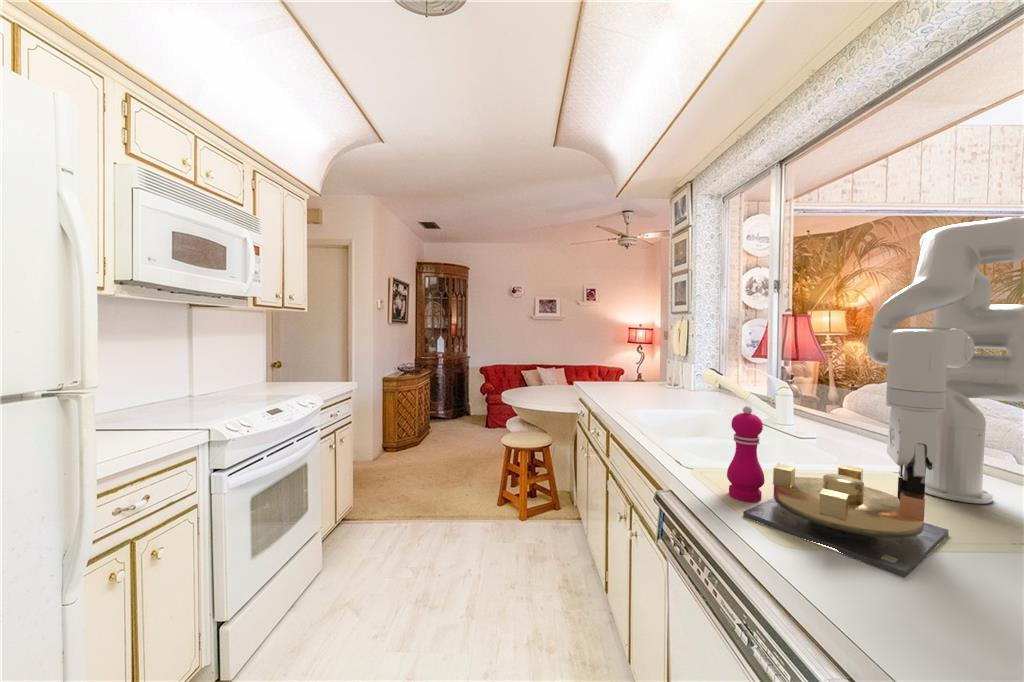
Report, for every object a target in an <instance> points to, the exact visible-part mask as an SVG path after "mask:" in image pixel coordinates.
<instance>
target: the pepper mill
mask: <svg viewBox="0 0 1024 682" xmlns="http://www.w3.org/2000/svg"><path fill="white" fill-rule="evenodd" d="M752 412H753V409H752V407H751V406H748V405H745V406H744V407H743V408H742V412H741V413H738V414H735V415H734V416H733V418H732V419H731V429H732V430H733V431H734V433H733V441H734V442H735V452H734V455H733V458H732V460H731V462H730V463H729V465H728V468H727V472H726V478H727V480H728V481H729V483H731V484H730V485H728V495H729V497H731V498H733V499H735V500H737V501H741V502H745V503H746V502H747V503H758V502H760V501H762V495H763V493H762V490H761V488H762V487H763V486H764V485H765V474H764V471H763V469H762V466H761V464H760V461H759V458H758V452H757V451H758V445H760V444H761V443H760V439H761V438H760V436H759V435H761V433H762V432H763V429H764V426H763V424H764V423H763V421H762V419H761V418H760V417H759V416H758V415H755V414H754V413H752Z"/></svg>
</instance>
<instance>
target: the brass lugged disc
mask: <svg viewBox="0 0 1024 682" xmlns="http://www.w3.org/2000/svg"><path fill="white" fill-rule="evenodd" d="M837 470H838V471H837V473H836V474H832V473H829V474H824V475H823V476H822V477H823V478H821V477H810V476H809V477H808V476H805V477H804V476H799V477H798V476H796V467H795V466H792V465H786V464H781V463H777V464H776V465H775V466H774V467H773V476H772V485H773V496H772V497H773V498H774V499H775V501H776V502H777V503H778V504H779V505H780V506H781V507H783V508H784V509H786V510H787V511H789V512H791V513H793V514H795V515H797V516H799V517H801V518H803V519H806V520H809V521H811V522H814V523H817V524H820V525H823V526H826V527H829V528H833V529H837V530H841V531H845V532H849V533H854V534H860V535H865V536H873V537H882V538H908V537H913V536H917V535H919V534H921V533H922V532H923V529H924V523H925V513H926V510H925V509H926V508H925V507H926V493H925V494H922V493H919V494H918V493H912V492H907V491H906V490H901V494H900V500H899V499H898V497H897V496H895V495H893V494H890V493H887V492H885V491H881V490H879V489H875V488H873V487H869V486H866V485H865V483H864V482H863V481H864V480H863V477H864V468H862V467H858V466H852V465H848V464H842V463H841V464H840V465H839V466H838V468H837Z"/></svg>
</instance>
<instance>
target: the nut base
mask: <svg viewBox="0 0 1024 682" xmlns="http://www.w3.org/2000/svg"><path fill="white" fill-rule="evenodd" d="M742 513H743V517H744V518H746V519H749V520H751V519H752V520H751V521H754V520H755V521H754V522H757V521H758V522H757V523H759V522H760V523H759V524H762V523H763V524H762V525H764V526H767V525H768V526H767V527H770V528H772V527H773V529H775V530H778V531H780V530H781V531H780V532H783V531H784V533H785V534H788V533H789V534H788V535H790V536H793V535H794V536H793V537H796V536H797V537H796V538H799V537H800V538H799V539H801V538H803V539H802V540H804V539H806V540H805V541H807V540H809V541H813V542H816V543H820V544H823V545H826V546H829V547H832V548H835V549H837V550H838V551H839V552H841V553H843V554H845V555H844V556H846V555H848V556H847V557H849V556H850V557H849V558H851V557H853V558H852V559H854V558H855V559H854V560H856V559H857V560H856V561H859V560H860V561H859V562H862V563H865V564H867V565H870V566H873V567H874V568H878V569H880V570H882V571H885V572H889V573H891V574H893V575H896V576H899V577H901V578H904V579H905V578H907V577H908V576H909V575H910V574H911V573H912V572H913V571H914V570H916V568H917V567H918V566H919V565H920V564H921V563H922V562H923V561H925V559H926V558H927V557H928V556H929V555H930V554H931V553H932V552H933V551H934V550H935V549H936V548H937V547H938V546H939V545H940V544H941V543H942V542H943V541H944V540H945V539H946V538H947V537H948V536H949V529H947V528H945V527H944V528H943V527H940V526H938V525H933V524H930V523H926V522H924V529H923V532H922V533H921V534H919V535H917V536H913V537H908V538H882V537H873V536H865V535H860V534H854V533H849V532H845V531H841V530H837V529H833V528H829V527H826V526H823V525H820V524H817V523H814V522H811V521H809V520H806V519H803V518H801V517H799V516H797V515H795V514H793V513H791V512H789V511H787V510H786V509H784V508H783V507H781V506H780V505H779V504H778V503H777V502H776V501H775V499H774V497H773V498H771V499H768V500H766V501H764V502H762V503H759V504H757V505H754V506H753V507H750V508H748V509H746V510H744V511H743V512H742ZM944 538H945V539H944ZM943 539H944V540H943ZM942 540H943V541H942ZM809 541H808V542H809ZM941 541H942V542H941ZM940 542H941V543H940ZM939 543H940V544H939ZM938 544H939V545H938ZM937 545H938V546H937ZM936 546H937V547H936ZM935 547H936V548H935ZM934 548H935V549H934ZM933 549H934V550H933ZM932 550H933V551H932ZM931 551H932V552H931ZM930 552H931V553H930ZM841 553H840V554H841ZM929 553H930V554H929ZM843 554H842V555H843ZM928 554H929V555H928ZM927 555H928V556H927Z"/></svg>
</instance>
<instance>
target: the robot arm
mask: <svg viewBox="0 0 1024 682" xmlns="http://www.w3.org/2000/svg"><path fill="white" fill-rule="evenodd" d="M919 250H920V255H919V259H918V263H917V266H916V270H915V274H914V278H913V282H912V284H910V285H909V286H907V287H905V288H903V289H901V290H900V291H898V292H896V294H894V295H892V296H891V297H890V298H888V300H887V301H885V302H884V303H883V304H882V305H881V306H880V307H879V308H878V309H877V311H876V313H875V315H874V316H873V319H872V323H871V327H870V330H869V333H868V338H867V342H866V343H867V344H866V351H867V354H868V357H869V358H870V359H871V361H872V362H874V363H877V364H879V365H882V366H883V365H884V366H887V371H886V372H887V375H886V377H887V378H886V392H885V394H886V395H885V396H886V397H885V399H886V400H885V405H886V406H887V407H891V408H890V414H889V421H888V422H889V423H888V431H887V432H888V433H887V444H886V453H887V455H888V456H889V458H891V460H892V461H893V462H894V463H895V464H896V465H897V466H898V475H899V476H897V477H898V478H897V496H896V497H898V499H899V500H900V494H901V490H906V491H907V492H912V493H918V494H919V493H922V494H925V495H926V494H928V495H930V496H934V497H937V498H941V499H945V500H950V501H951V500H952V501H956V502H959V503H967V504H979V505H980V504H989V503H992V502H993V494H992V493H990V492H988V491H987V490H984V489H983V484H984V483H983V479H984V459H985V445H986V444H985V443H986V425H987V424H986V423H987V421H986V417H985V415H984V414H983V413H982V411H981V410H980V409H979V407H977V406H976V405H975V404H974V403H973V402H972V401H971V400H970V399H982V400H991V401H1002V402H1003V401H1004V402H1013V403H1015V402H1016V403H1024V304H1017V303H1016V304H1009V303H1008V304H992V303H991V298H992V297H991V296H992V283H991V281H990V279H989V278H988V277H987V276H986V275H985V274H984V273H983V272H982V271H980V270H979V269H978V266H979V265H989V264H1000V263H1001V264H1003V263H1014V262H1022V261H1024V216H1016V217H1014V216H1013V217H1002V218H996V219H995V218H993V219H987V220H980V221H971V222H963V223H957V224H956V223H955V224H951V225H947V226H942V227H938V228H935V229H932V230H929V231H927V232H926V233H924V234H923V235H922V236H921V238H920V240H919ZM931 311H934V319H933V327H932V326H931V327H930V326H929V327H927V326H926V327H925V326H898V325H899V324H900V323H902V322H904V321H905V320H906V321H907V319H910V318H912V317H915V316H918V315H921V314H924V313H928V312H931ZM976 349H988V350H989V349H990V350H991V349H992V350H993V349H994V350H1003V351H1005V352H1007V353H1008V355H1000V354H980V353H975V351H976Z"/></svg>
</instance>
